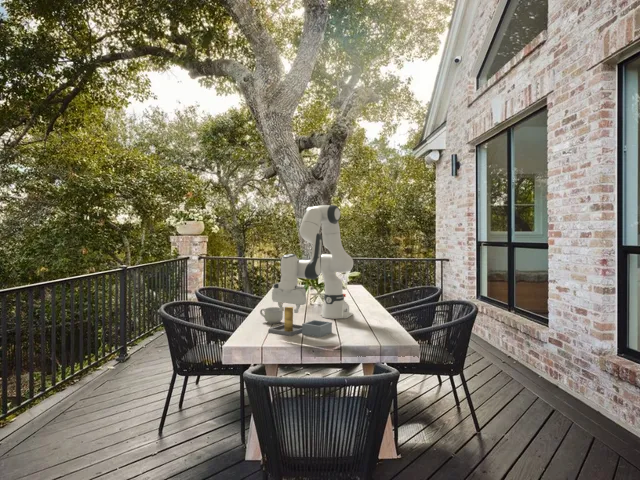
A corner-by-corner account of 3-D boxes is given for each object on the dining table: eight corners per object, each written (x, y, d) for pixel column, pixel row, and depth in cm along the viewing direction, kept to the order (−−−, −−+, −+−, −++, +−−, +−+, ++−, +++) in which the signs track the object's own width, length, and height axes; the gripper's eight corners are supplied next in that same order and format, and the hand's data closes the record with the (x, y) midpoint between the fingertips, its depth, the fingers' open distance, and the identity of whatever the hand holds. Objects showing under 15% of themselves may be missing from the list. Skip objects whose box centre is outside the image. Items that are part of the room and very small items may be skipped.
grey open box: (313, 331, 214) (313, 319, 214) (331, 334, 208) (331, 322, 208) (302, 335, 205) (302, 323, 205) (320, 338, 199) (320, 326, 199)
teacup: (286, 321, 236) (286, 308, 236) (275, 325, 227) (275, 311, 227) (267, 319, 243) (267, 306, 243) (255, 322, 234) (256, 308, 234)
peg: (287, 329, 214) (287, 306, 214) (294, 330, 212) (294, 307, 212) (282, 330, 210) (282, 307, 210) (289, 331, 208) (289, 308, 208)
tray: (287, 327, 222) (287, 323, 222) (308, 331, 214) (308, 326, 214) (268, 333, 208) (268, 328, 208) (290, 337, 201) (290, 332, 201)
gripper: (309, 286, 208) (308, 313, 208) (277, 283, 219) (277, 308, 219) (301, 287, 203) (301, 315, 203) (270, 284, 213) (270, 310, 214)
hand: (288, 311), depth 211 cm, fingers open, 8 cm apart
